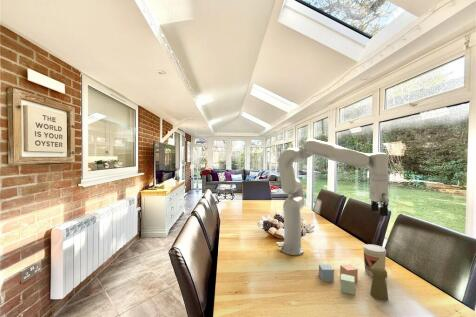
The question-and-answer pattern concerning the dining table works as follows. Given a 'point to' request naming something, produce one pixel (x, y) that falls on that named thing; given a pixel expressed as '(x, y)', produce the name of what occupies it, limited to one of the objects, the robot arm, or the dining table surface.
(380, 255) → the coffee cup
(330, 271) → the slate cube
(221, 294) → the dining table surface
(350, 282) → the sage cube
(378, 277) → the cork
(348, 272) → the terracotta cube
